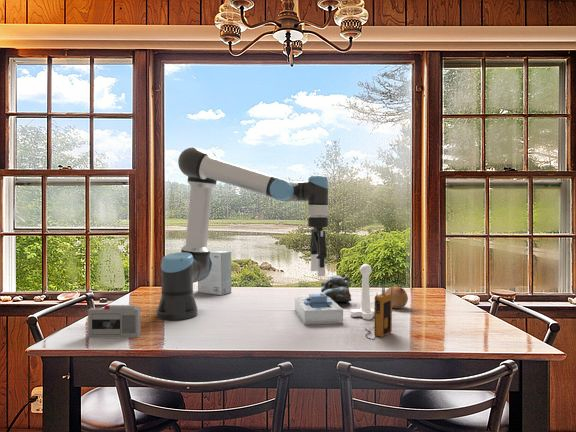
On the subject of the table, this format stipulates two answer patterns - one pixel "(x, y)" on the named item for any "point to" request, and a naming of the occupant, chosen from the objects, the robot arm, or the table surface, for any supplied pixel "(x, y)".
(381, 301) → the multimeter
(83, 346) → the table surface
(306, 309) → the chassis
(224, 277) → the hard drive box
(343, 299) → the dark grey rock
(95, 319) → the cassette player
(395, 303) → the onion
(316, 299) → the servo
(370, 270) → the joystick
